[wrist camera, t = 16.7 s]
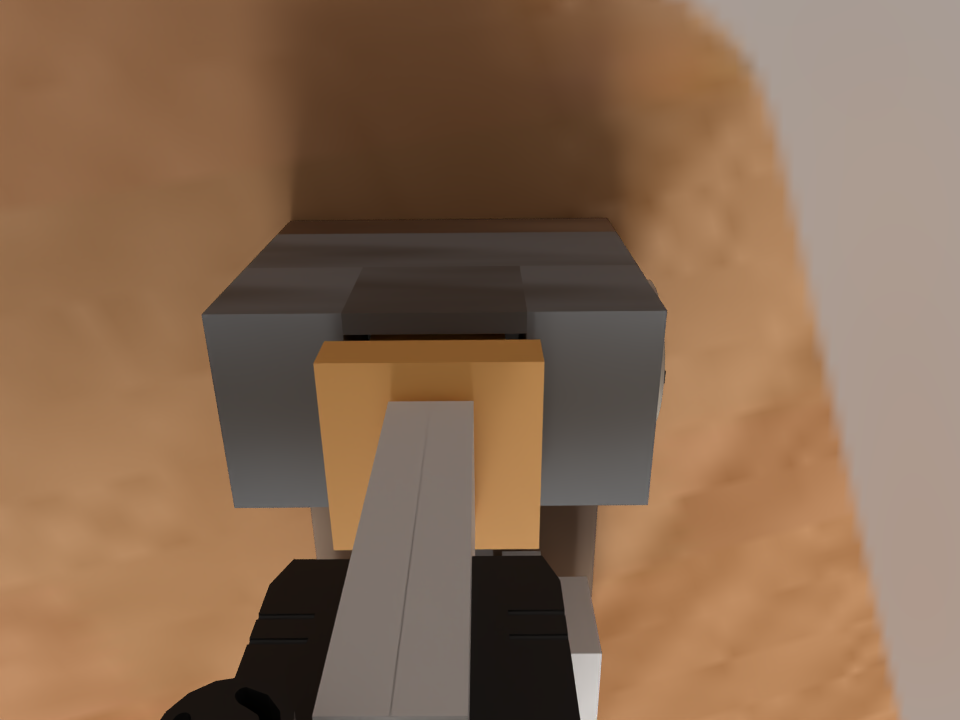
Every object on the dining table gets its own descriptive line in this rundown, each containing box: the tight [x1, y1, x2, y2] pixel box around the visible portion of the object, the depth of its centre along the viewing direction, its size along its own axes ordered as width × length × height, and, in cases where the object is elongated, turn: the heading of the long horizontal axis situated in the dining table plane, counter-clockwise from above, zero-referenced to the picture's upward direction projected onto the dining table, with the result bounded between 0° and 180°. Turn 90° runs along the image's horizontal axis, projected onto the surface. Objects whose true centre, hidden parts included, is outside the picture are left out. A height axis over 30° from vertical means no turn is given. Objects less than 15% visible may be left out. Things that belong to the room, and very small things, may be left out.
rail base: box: [202, 218, 667, 597], centre depth 24 cm, size 30×10×8 cm, turn 0°
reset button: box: [313, 334, 544, 550], centre depth 16 cm, size 4×4×4 cm
